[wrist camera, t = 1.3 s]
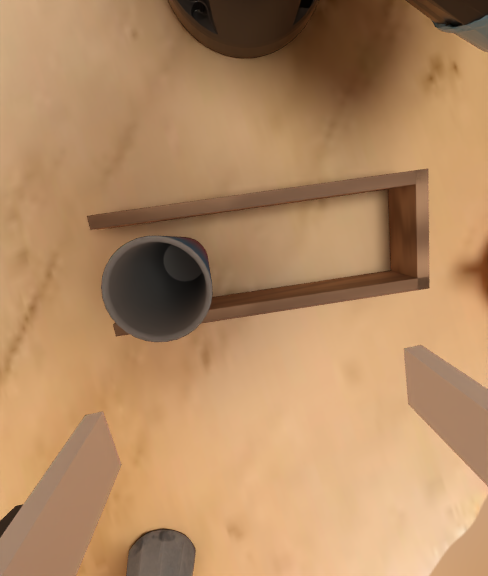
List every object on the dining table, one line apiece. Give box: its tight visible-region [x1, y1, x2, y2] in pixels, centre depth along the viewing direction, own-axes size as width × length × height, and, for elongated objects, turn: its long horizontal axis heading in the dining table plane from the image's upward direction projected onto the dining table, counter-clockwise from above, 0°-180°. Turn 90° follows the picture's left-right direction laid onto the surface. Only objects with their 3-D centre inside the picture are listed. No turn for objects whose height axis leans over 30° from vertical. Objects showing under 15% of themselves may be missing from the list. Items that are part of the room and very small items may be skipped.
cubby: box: [87, 169, 429, 336], centre depth 32 cm, size 11×31×5 cm, turn 98°
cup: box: [101, 236, 212, 342], centre depth 27 cm, size 7×7×15 cm
